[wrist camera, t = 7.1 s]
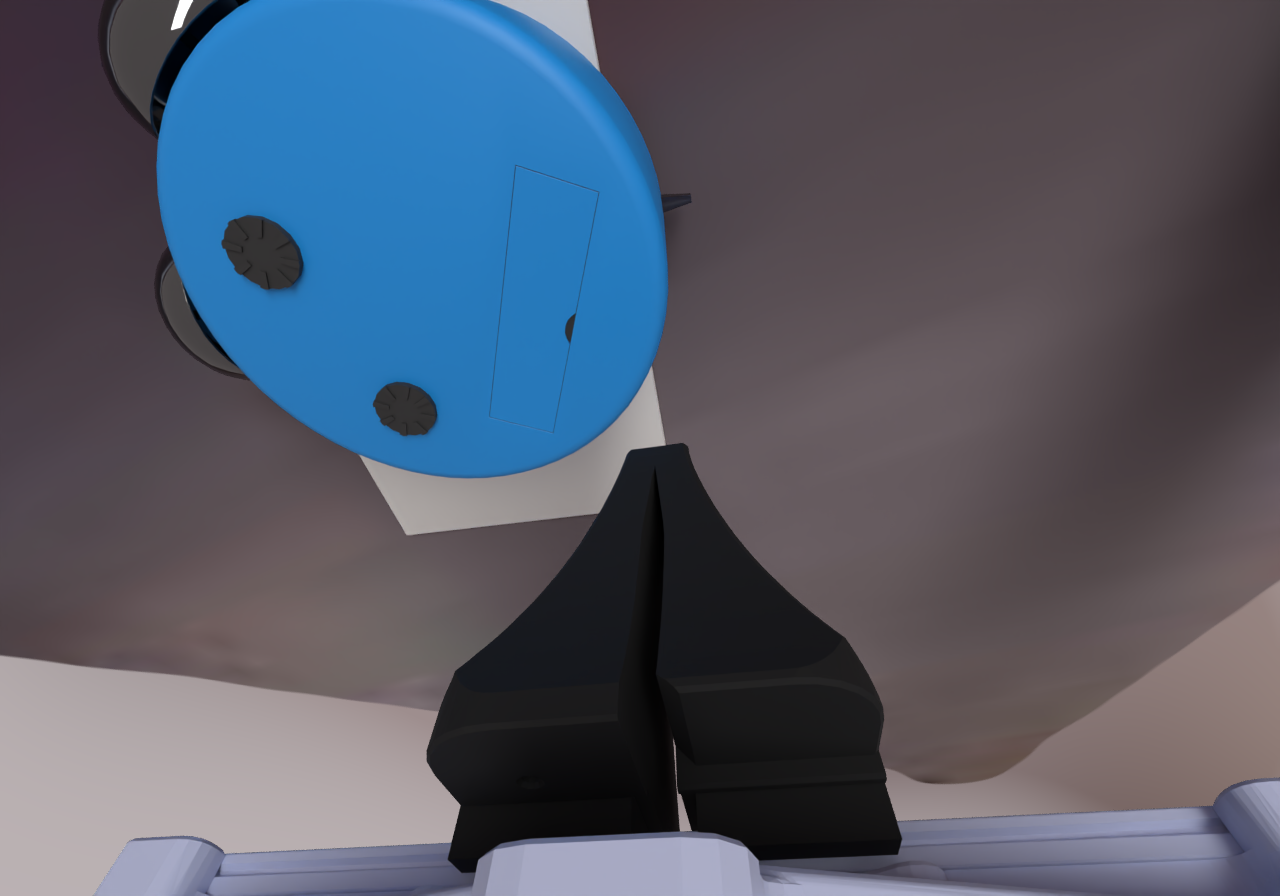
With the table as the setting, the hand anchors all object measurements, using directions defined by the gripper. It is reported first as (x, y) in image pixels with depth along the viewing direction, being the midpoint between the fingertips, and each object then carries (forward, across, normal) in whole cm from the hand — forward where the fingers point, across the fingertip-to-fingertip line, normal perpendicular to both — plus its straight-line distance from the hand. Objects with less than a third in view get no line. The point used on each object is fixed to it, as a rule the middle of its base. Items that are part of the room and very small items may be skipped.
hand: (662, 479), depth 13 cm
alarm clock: (+7, 0, -1) cm, 7 cm away
